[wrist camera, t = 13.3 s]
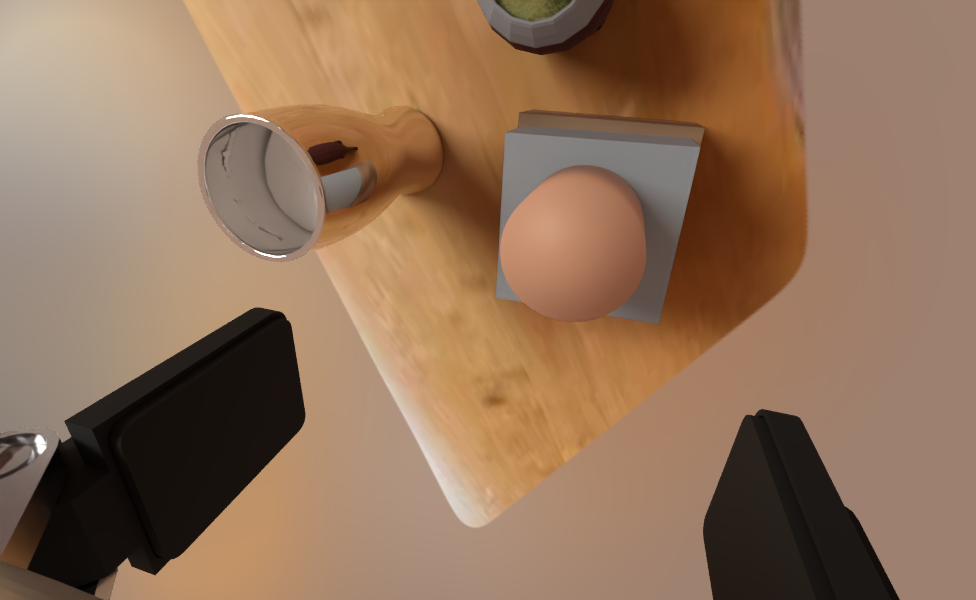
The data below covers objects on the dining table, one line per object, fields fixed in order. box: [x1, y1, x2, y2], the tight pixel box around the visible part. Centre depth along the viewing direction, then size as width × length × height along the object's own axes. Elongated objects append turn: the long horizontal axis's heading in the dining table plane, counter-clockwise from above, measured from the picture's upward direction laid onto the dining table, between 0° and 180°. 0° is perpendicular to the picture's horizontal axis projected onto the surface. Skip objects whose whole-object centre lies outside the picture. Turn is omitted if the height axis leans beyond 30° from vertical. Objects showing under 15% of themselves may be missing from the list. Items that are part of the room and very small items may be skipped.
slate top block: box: [496, 126, 700, 324], centre depth 25 cm, size 9×9×4 cm
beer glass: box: [198, 105, 443, 262], centre depth 27 cm, size 7×7×15 cm
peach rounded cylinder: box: [500, 165, 646, 322], centre depth 21 cm, size 6×6×5 cm
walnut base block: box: [518, 110, 705, 147], centre depth 29 cm, size 10×10×4 cm
